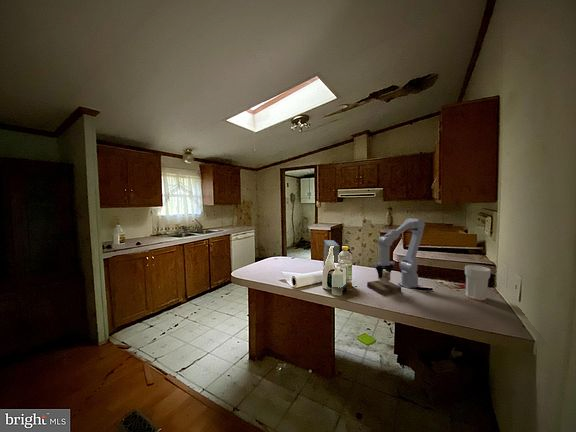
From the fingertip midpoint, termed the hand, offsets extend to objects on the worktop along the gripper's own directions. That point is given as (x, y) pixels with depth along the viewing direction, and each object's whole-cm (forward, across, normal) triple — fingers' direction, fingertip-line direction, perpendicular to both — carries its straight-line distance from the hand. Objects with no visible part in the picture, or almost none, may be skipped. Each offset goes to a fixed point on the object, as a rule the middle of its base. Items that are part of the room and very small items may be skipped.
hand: (383, 277), depth 144 cm
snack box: (+8, -21, +30) cm, 38 cm away
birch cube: (+2, 0, 0) cm, 2 cm away
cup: (+8, +41, -27) cm, 50 cm away
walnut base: (+8, 0, 0) cm, 8 cm away
